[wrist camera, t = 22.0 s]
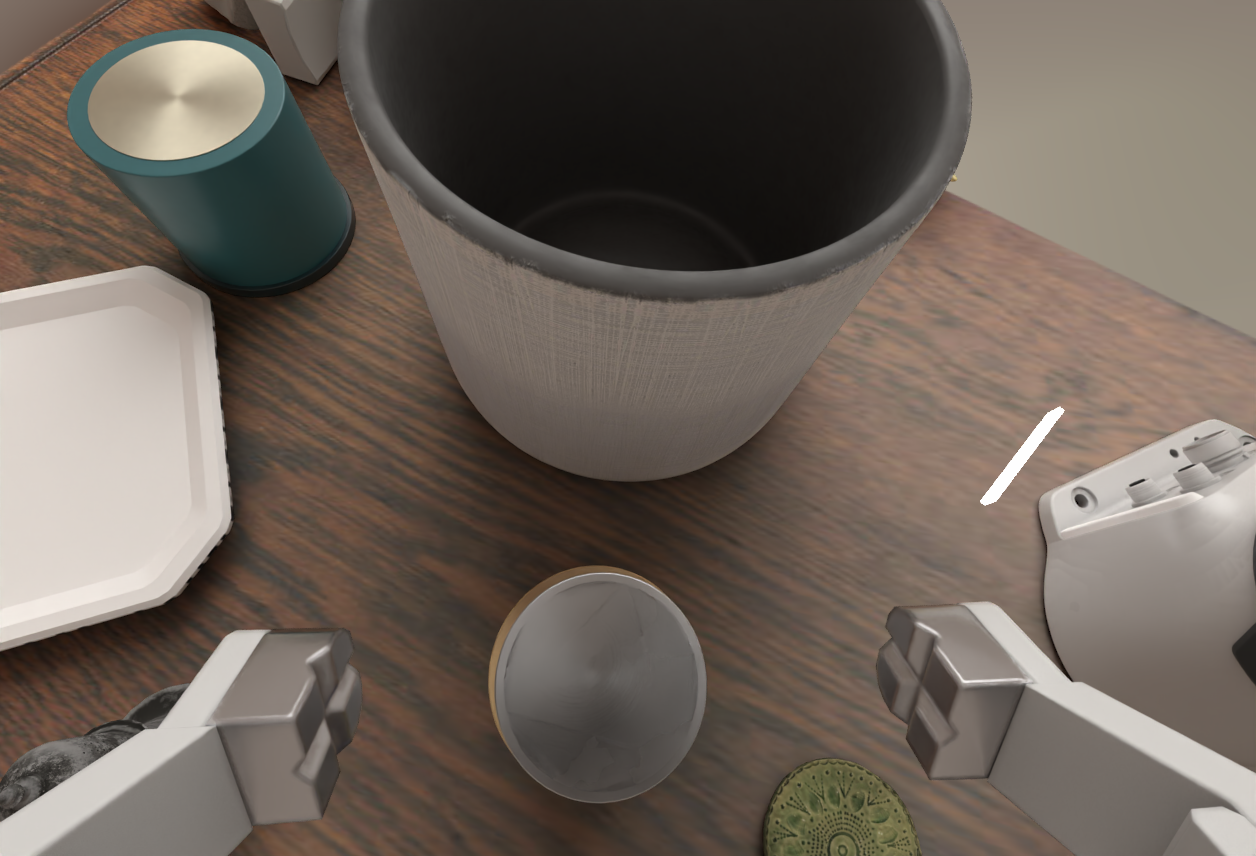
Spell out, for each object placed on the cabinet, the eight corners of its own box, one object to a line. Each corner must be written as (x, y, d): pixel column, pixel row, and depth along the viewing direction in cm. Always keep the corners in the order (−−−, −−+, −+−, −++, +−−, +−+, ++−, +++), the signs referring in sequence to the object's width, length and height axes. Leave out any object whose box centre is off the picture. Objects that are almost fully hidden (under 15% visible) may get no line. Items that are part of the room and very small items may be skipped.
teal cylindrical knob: (314, 142, 43) (242, 0, 34) (383, 251, 40) (325, 128, 31) (157, 203, 40) (30, 65, 31) (219, 325, 37) (100, 214, 28)
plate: (-158, 347, 35) (-204, 327, 33) (223, 272, 39) (203, 250, 36) (-208, 721, 28) (-270, 726, 26) (257, 586, 32) (235, 581, 30)
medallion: (741, 780, 30) (745, 783, 30) (882, 740, 32) (889, 741, 31) (791, 971, 28) (796, 980, 27) (942, 919, 29) (951, 926, 28)
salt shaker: (230, 838, 28) (1, 957, 17) (126, 780, 29) (-164, 858, 17) (307, 712, 30) (148, 744, 19) (208, 660, 31) (-3, 661, 19)
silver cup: (569, 569, 27) (566, 535, 19) (694, 643, 26) (741, 637, 19) (488, 706, 25) (450, 726, 17) (623, 791, 24) (644, 851, 16)
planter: (692, 562, 34) (831, 446, 16) (374, 370, 37) (168, 75, 18) (843, 284, 42) (1055, -14, 23) (571, 142, 45) (567, -226, 26)
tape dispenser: (563, 67, 48) (561, -12, 42) (518, 150, 44) (509, 76, 38) (342, -2, 48) (311, -89, 43) (281, 74, 45) (239, -9, 39)
